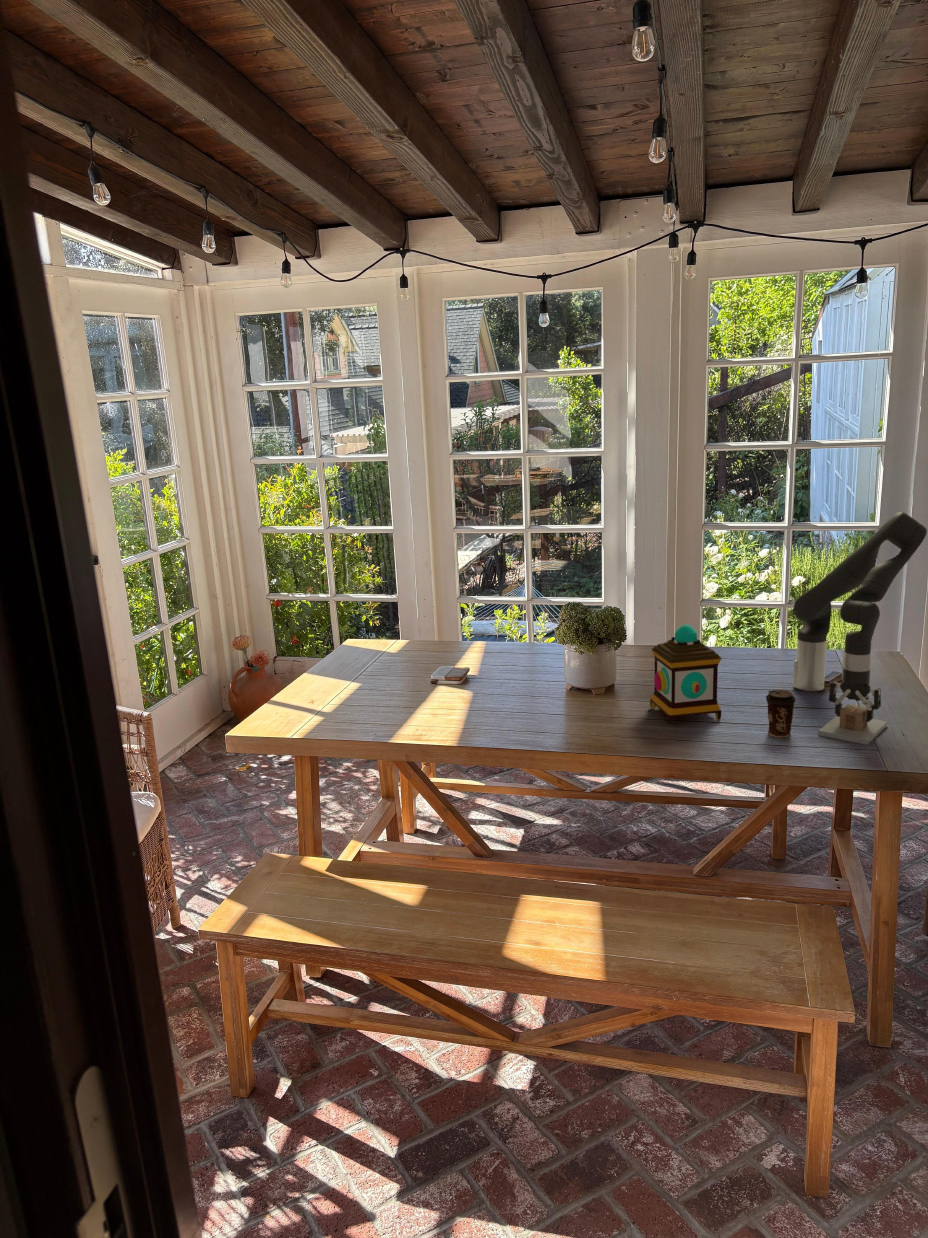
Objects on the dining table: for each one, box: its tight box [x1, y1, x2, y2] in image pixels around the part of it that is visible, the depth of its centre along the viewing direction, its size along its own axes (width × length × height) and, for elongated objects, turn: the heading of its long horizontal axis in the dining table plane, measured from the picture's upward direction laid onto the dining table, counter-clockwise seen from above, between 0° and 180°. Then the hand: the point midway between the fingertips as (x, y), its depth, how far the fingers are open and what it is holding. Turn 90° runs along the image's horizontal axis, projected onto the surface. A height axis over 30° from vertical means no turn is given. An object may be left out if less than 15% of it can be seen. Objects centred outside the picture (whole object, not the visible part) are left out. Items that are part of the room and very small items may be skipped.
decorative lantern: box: [649, 624, 722, 726], centre depth 289 cm, size 20×20×30 cm
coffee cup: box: [765, 689, 796, 739], centre depth 272 cm, size 9×8×13 cm
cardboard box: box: [839, 704, 868, 731], centre depth 271 cm, size 7×6×6 cm
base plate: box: [818, 715, 888, 746], centre depth 272 cm, size 14×18×2 cm
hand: (853, 718), depth 272 cm, fingers open, 8 cm apart
